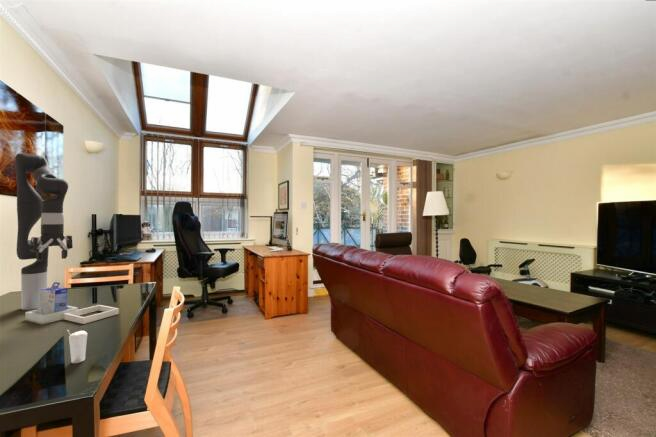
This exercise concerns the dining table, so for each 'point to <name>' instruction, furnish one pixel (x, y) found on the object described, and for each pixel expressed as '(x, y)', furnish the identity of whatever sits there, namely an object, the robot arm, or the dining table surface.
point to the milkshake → (78, 346)
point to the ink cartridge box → (52, 299)
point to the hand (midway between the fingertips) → (52, 259)
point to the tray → (47, 316)
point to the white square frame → (77, 318)
